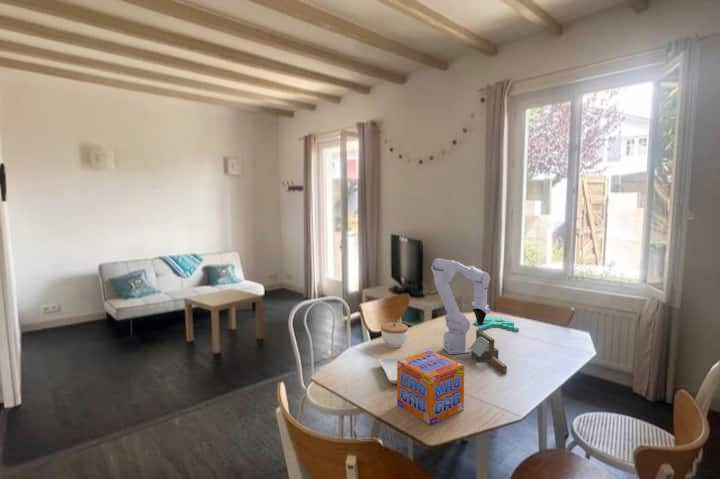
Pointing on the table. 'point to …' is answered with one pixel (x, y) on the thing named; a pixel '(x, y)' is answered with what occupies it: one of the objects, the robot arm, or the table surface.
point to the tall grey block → (484, 355)
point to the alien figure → (496, 324)
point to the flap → (479, 346)
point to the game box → (430, 386)
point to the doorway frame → (492, 352)
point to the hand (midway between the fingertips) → (480, 324)
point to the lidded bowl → (394, 334)
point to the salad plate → (390, 367)
